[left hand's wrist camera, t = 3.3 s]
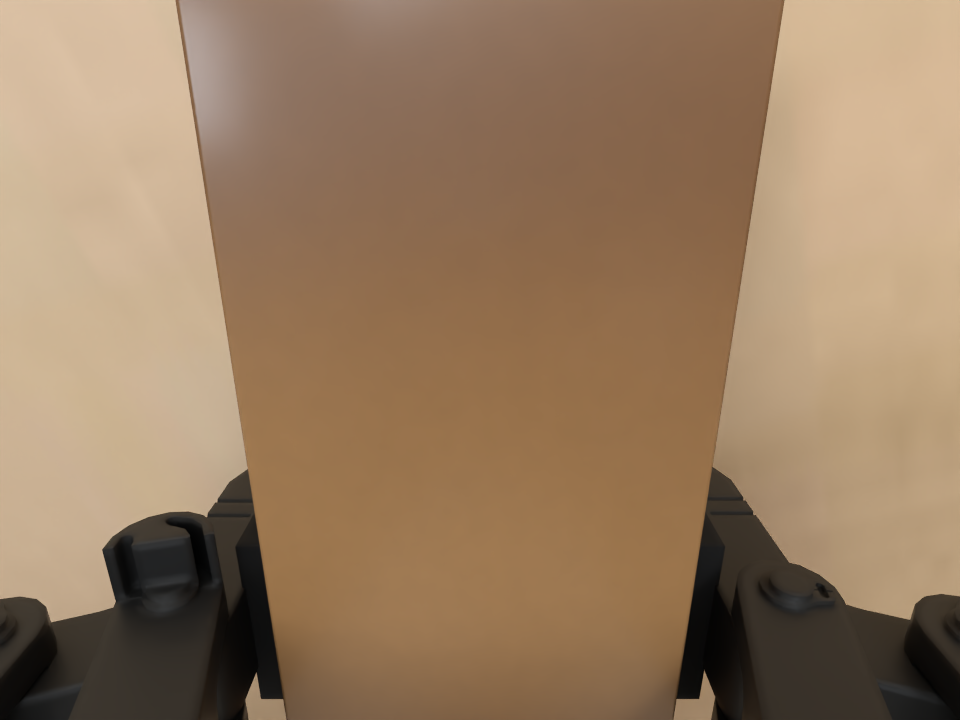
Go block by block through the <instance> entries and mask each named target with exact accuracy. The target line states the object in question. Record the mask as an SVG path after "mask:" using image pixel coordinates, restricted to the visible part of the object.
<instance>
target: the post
mask: <svg viewBox="0 0 960 720" xmlns="http://www.w3.org/2000/svg"><path fill="white" fill-rule="evenodd" d="M176 6H177V12H178V19H179V25H180V32H181V38H182V45H183V51H184V58H185V64H186V71H187V77H188V84H189V90H190V97H191V103H192V109H193V116H194V122H195V129H196V135H197V142H198V148H199V155H200V161H201V168H202V174H203V181H204V187H205V194H206V200H207V207H208V213H209V220H210V226H211V233H212V239H213V246H214V252H215V259H216V265H217V271H218V278H219V284H220V291H221V297H222V304H223V310H224V317H225V323H226V330H227V336H228V343H229V349H230V356H231V362H232V369H233V375H234V382H235V388H236V395H237V401H238V408H239V414H240V421H241V427H242V433H243V440H244V446H245V453H246V459H247V466H248V472H249V479H250V485H251V492H252V498H253V505H254V511H255V518H256V524H257V531H258V537H259V544H260V550H261V557H262V563H263V570H264V576H265V583H266V589H267V595H268V602H269V608H270V615H271V621H272V628H273V634H274V641H275V647H276V654H277V660H278V667H279V673H280V680H281V686H282V693H283V699H284V706H285V712H286V719H287V720H673V718H674V711H675V705H676V698H677V692H678V685H679V679H680V673H681V666H682V660H683V653H684V647H685V640H686V634H687V627H688V621H689V614H690V608H691V601H692V595H693V588H694V582H695V575H696V569H697V562H698V556H699V550H700V543H701V537H702V530H703V524H704V517H705V511H706V504H707V498H708V491H709V485H710V478H711V472H712V465H713V459H714V452H715V446H716V439H717V433H718V427H719V420H720V414H721V407H722V401H723V394H724V388H725V381H726V375H727V368H728V362H729V355H730V349H731V342H732V336H733V329H734V323H735V317H736V310H737V304H738V297H739V291H740V284H741V278H742V271H743V265H744V258H745V252H746V245H747V239H748V232H749V226H750V219H751V213H752V206H753V200H754V194H755V187H756V181H757V174H758V168H759V161H760V155H761V148H762V142H763V135H764V129H765V122H766V116H767V109H768V103H769V96H770V90H771V83H772V77H773V71H774V64H775V58H776V51H777V45H778V38H779V32H780V25H781V19H782V12H783V6H784V0H176Z"/></svg>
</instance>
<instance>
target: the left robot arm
mask: <svg viewBox="0 0 960 720" xmlns="http://www.w3.org/2000/svg"><path fill="white" fill-rule="evenodd" d="M102 551H103V555H104V558H105V562H106V566H107V570H108V573H109V577H110V581H111V585H112V588H113V592H114V596H115V600H116V603H115V605H114V608H111V609H107V610H104V611H100V612H96V613H92V614H87V615H83V616H78V617H74V618H69V619H65V620H60V621H56V622H51V621H50V618H49V615H48V612H47V608H46V607H45V606H44V605H43V604H42V603H41V602H39V601H38V600H37V599H32V598H25V597H14V598H6V599H0V720H248V713H247V707H246V702H245V699H246V696H247V694H248V691H249V689H250V686H251V684H252V682H253V679H254V677H255V674H256V672H257V677H258V683H259V689H260V694H261V699H283V693H282V686H281V680H280V673H279V667H278V660H277V654H276V647H275V641H274V634H273V628H272V621H271V615H270V608H269V602H268V595H267V589H266V583H265V576H264V570H263V563H262V557H261V550H260V544H259V537H258V531H257V524H256V518H255V511H254V505H253V498H252V492H251V485H250V479H249V472H248V470H246V471H245V472H243V473H242V474H240V475H239V476H238V477H236V478H235V479H233V480H232V481H230V482H229V484H228V485H227V487H226V488H225V490H224V491H223V492H222V494H221V495H220V497H219V498H218V502H217V503H215V504H214V505H213V507H212V508H211V510H210V511H209V513H208V517H205V516H204V515H200V514H196V513H192V512H169V513H164V514H160V515H156V516H151V517H148V518H146V519H143V520H141V521H139V522H136V523H134V524H132V525H129V526H128V527H126V528H125V529H123V530H122V531H120V532H119V533H117V534H116V535H115V536H113V537H112V538H111V539H110V541H109V542H108V543H107V544H106V546H105V547H104V548H103V549H102ZM704 670H705V673H706V675H707V678H708V680H709V682H710V685H711V687H712V690H713V692H714V695H715V702H714V707H713V713H712V718H711V720H960V596H952V595H944V594H939V595H932V596H926V597H924V598H922V599H921V600H920V601H919V602H918V603H916V604H915V607H914V610H913V613H912V616H911V619H910V620H907V619H903V618H898V617H894V616H889V615H885V614H880V613H876V612H871V611H867V610H862V609H859V608H855V607H852V606H849V605H846V604H845V602H844V600H843V598H842V597H841V595H840V594H839V593H838V591H837V590H836V588H835V587H834V586H833V585H831V584H830V583H829V582H828V581H826V580H825V579H824V578H823V577H821V576H820V575H819V574H816V573H814V572H812V571H810V570H808V569H806V568H804V567H802V566H800V565H796V564H792V563H789V562H788V561H787V559H786V558H785V556H784V555H783V554H782V552H781V551H780V549H779V548H778V546H777V545H776V544H775V542H774V541H773V539H772V538H771V536H770V535H769V534H768V532H767V531H766V529H765V528H764V526H763V525H762V524H761V522H760V521H759V519H758V518H757V516H756V515H753V511H752V509H751V508H750V506H749V505H748V504H747V502H746V501H743V496H742V495H741V494H740V492H739V491H738V489H737V488H736V486H735V485H734V484H733V482H732V481H731V480H730V479H729V478H727V477H726V476H725V475H723V474H722V473H720V472H719V471H717V470H716V469H714V468H713V467H712V472H711V478H710V485H709V491H708V498H707V504H706V511H705V517H704V524H703V530H702V537H701V543H700V550H699V556H698V562H697V569H696V575H695V582H694V588H693V595H692V601H691V608H690V614H689V621H688V627H687V634H686V640H685V647H684V653H683V660H682V666H681V673H680V679H679V685H678V692H677V698H676V699H699V696H700V691H701V685H702V679H703V673H704Z"/></svg>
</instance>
